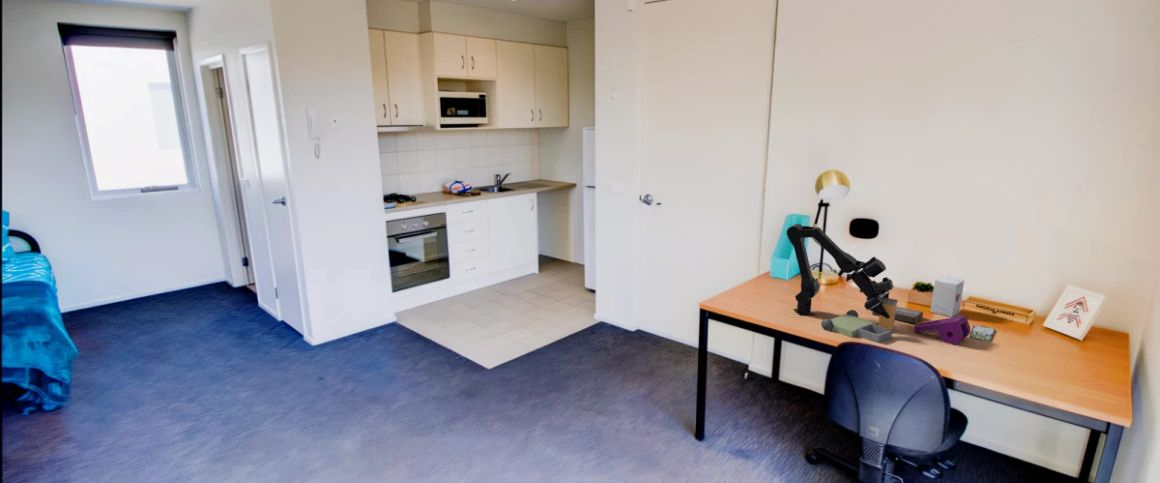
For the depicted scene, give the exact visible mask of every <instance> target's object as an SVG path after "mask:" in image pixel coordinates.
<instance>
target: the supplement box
mask: <svg viewBox="0 0 1160 483" xmlns="http://www.w3.org/2000/svg"><path fill="white" fill-rule="evenodd" d="M964 285H965V280H964V279H960V278H955V277H950V276H945V275H942V276H940V277H938V278H937V279H935V280H934V287H933V293H932V300H931V306H930V313H934V314H937V315H941V316H945V317H948V318H953V317H956V315H958V314H959V313H960V310H961V304H962V298H963V291H964Z"/></svg>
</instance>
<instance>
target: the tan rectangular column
mask: <svg viewBox="0 0 1160 483" xmlns="http://www.w3.org/2000/svg"><path fill="white" fill-rule="evenodd" d="M882 301H883V307H884V308H885V310H886V311H887V313H888V314H889V316H890V318H888V319H887V318H885V317H883V316H881V315H879V316H878V325H877V326H880V327H883V328H886V329H889V330H892V334H893V332H894V331H895V329H896V326H895V321H896V319H895V314H896V306H897V304H898V302H899V300H898V299H896V298H890V297H889V298H884V297H883V298H882ZM897 307H898V306H897Z"/></svg>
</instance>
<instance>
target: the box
mask: <svg viewBox="0 0 1160 483" xmlns="http://www.w3.org/2000/svg"><path fill="white" fill-rule="evenodd" d="M871 312H872V315H874V316H878V317H879V314H877V313H875V312H873V311H871ZM923 316H924V312H923V311H921V310H917V309H911V308H905V307H901V306H896V314H895V320H898V321H902V322H909V323H912V324H915V325H916V323H918V322H919V321H921V320H922V319H923Z"/></svg>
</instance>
